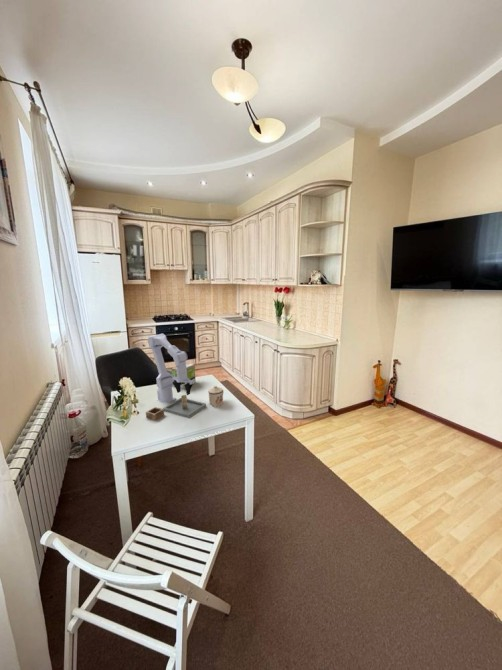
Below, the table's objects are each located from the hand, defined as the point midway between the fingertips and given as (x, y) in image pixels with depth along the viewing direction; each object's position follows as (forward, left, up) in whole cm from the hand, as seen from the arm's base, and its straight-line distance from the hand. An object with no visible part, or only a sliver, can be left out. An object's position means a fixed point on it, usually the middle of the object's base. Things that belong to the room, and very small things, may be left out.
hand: (183, 393), depth 162 cm
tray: (0, 0, -10) cm, 10 cm away
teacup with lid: (+13, +16, -11) cm, 23 cm away
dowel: (0, 0, -10) cm, 10 cm away
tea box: (-27, +29, -11) cm, 41 cm away
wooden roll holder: (-9, -15, -10) cm, 20 cm away
